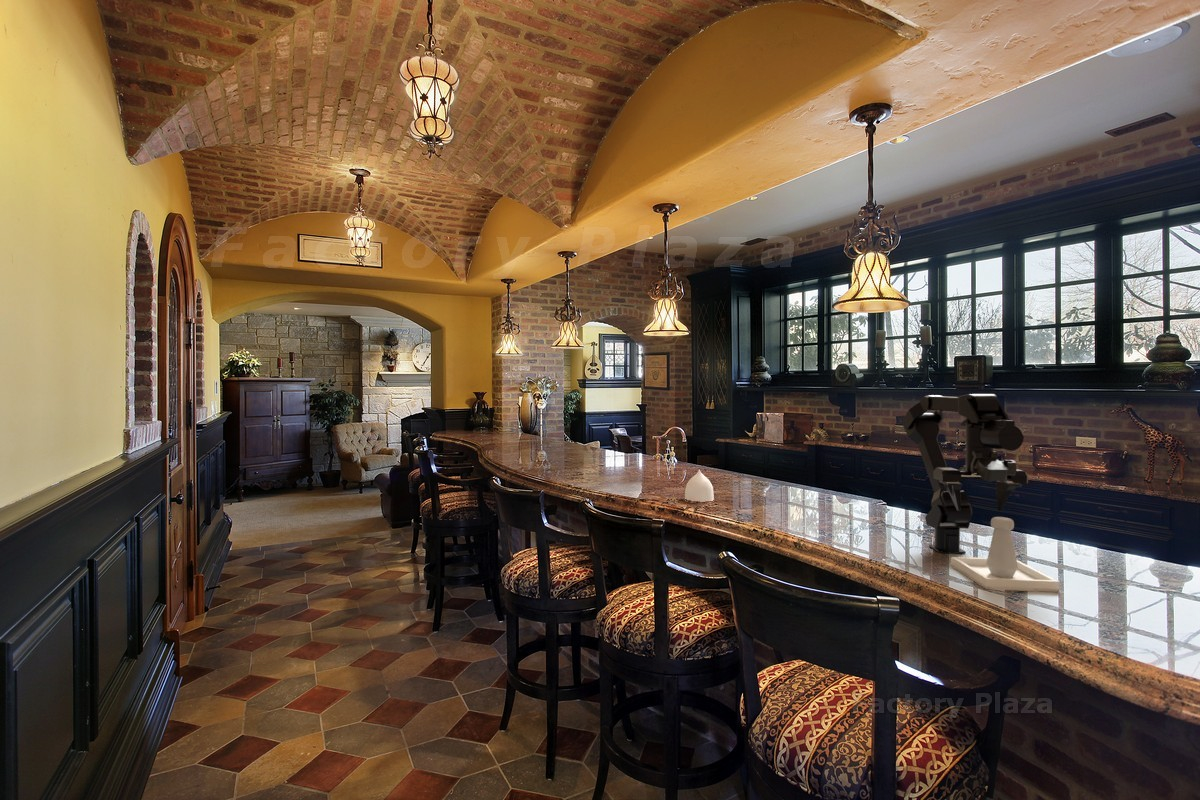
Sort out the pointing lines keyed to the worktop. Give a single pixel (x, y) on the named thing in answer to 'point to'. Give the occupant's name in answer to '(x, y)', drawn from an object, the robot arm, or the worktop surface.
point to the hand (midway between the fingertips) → (979, 510)
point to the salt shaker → (1002, 549)
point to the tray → (1021, 580)
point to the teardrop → (699, 489)
